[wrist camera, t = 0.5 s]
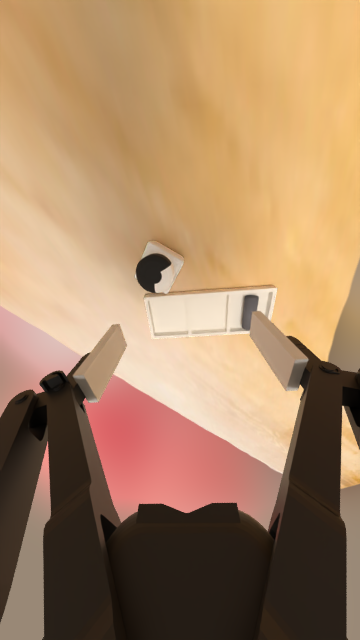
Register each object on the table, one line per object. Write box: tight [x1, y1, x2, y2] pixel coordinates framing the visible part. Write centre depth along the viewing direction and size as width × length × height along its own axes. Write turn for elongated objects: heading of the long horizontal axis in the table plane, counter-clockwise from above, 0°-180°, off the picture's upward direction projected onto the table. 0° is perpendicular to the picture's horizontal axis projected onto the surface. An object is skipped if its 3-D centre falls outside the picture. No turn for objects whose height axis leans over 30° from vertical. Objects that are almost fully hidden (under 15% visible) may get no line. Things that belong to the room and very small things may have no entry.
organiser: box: [144, 285, 277, 339], centre depth 40 cm, size 12×30×2 cm, turn 95°
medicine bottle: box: [134, 241, 184, 294], centre depth 30 cm, size 7×7×12 cm
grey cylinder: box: [242, 295, 259, 330], centre depth 38 cm, size 8×3×3 cm, turn 5°
